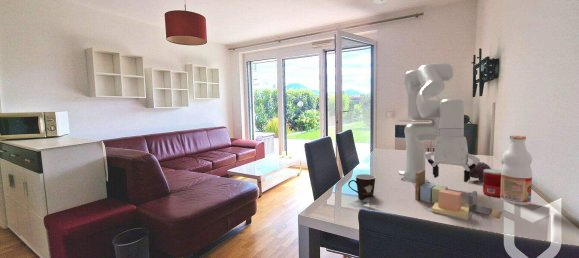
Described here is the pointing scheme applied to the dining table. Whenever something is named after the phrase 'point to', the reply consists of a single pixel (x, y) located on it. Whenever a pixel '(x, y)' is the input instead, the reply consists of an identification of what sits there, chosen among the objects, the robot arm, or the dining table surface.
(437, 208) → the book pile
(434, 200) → the olive book
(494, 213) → the shelf
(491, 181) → the canned food
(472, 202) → the bookend
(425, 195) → the blue book
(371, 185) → the coffee mug
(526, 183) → the fruit juice
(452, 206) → the terracotta book
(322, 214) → the dining table surface
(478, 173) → the pine cone
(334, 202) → the dining table surface
